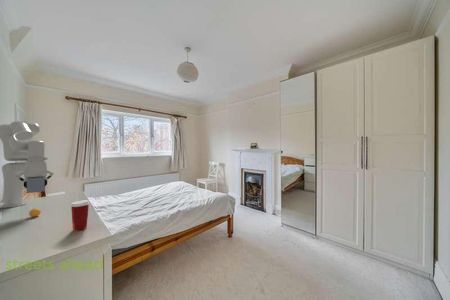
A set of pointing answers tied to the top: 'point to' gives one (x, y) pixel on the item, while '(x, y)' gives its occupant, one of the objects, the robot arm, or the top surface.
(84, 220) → the paper cup
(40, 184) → the pale blue-grey cube
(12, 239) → the top surface
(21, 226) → the top surface
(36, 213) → the ball
